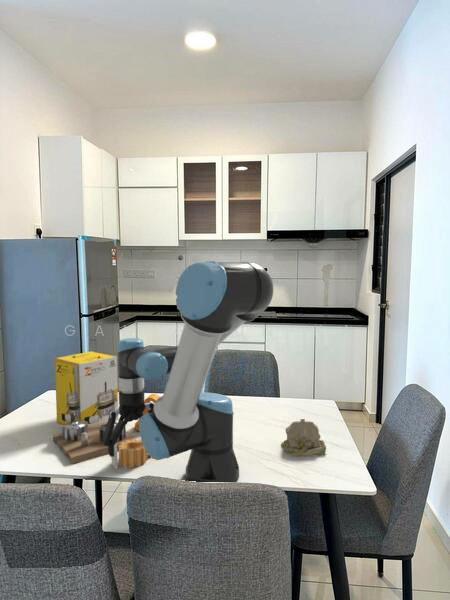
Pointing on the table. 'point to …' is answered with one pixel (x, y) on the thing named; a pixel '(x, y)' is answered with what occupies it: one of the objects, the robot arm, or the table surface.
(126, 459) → the orange gear
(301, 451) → the ceramic model
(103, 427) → the gear
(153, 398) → the bracket
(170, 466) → the table surface
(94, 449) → the gear board
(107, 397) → the packaging box
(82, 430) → the gear
